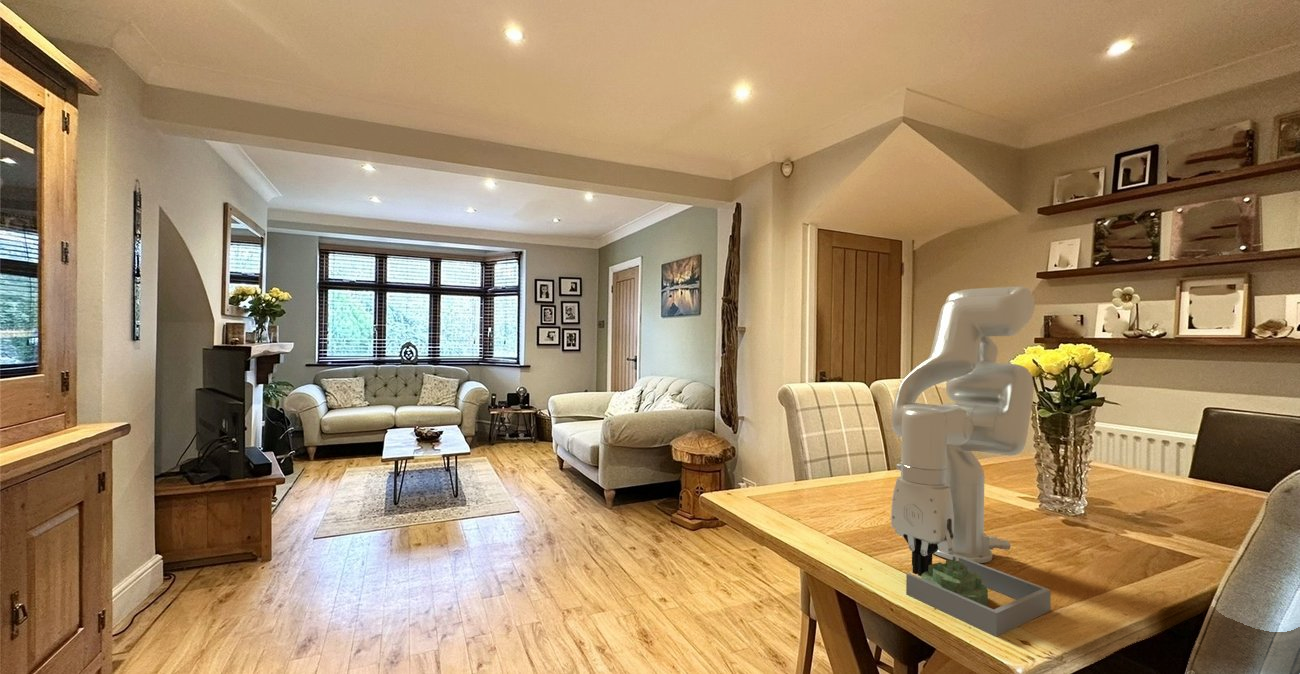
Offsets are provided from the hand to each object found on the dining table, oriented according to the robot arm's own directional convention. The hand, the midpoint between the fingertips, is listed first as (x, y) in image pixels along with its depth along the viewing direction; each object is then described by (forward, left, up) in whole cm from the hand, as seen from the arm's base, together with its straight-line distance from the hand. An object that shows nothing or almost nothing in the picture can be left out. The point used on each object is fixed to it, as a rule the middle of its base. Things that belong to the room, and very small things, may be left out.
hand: (921, 573), depth 97 cm
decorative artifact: (-4, +5, -2) cm, 7 cm away
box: (-7, +7, -1) cm, 10 cm away
